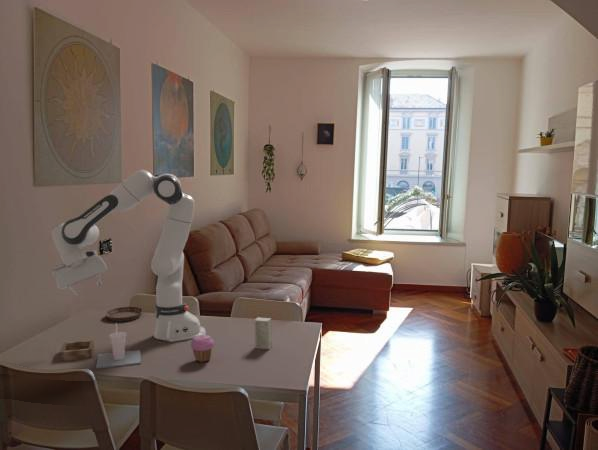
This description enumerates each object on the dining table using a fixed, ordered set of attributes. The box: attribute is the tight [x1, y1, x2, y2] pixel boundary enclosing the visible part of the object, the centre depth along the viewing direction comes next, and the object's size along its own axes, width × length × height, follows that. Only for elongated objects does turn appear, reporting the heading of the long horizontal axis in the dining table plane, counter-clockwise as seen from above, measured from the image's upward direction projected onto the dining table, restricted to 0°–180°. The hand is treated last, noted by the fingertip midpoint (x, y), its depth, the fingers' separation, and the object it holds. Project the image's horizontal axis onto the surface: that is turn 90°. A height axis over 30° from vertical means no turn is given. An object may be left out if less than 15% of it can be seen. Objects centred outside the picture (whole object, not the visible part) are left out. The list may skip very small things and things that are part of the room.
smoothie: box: [109, 322, 128, 360], centre depth 204 cm, size 6×6×14 cm
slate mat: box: [95, 349, 142, 369], centre depth 205 cm, size 16×14×1 cm
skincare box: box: [254, 316, 273, 350], centre depth 218 cm, size 6×4×12 cm
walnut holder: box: [59, 339, 95, 362], centre depth 210 cm, size 11×11×4 cm
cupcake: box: [190, 334, 215, 363], centre depth 204 cm, size 9×9×10 cm
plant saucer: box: [105, 306, 144, 322], centre depth 261 cm, size 18×18×3 cm
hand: (89, 289), depth 218 cm, fingers open, 8 cm apart
